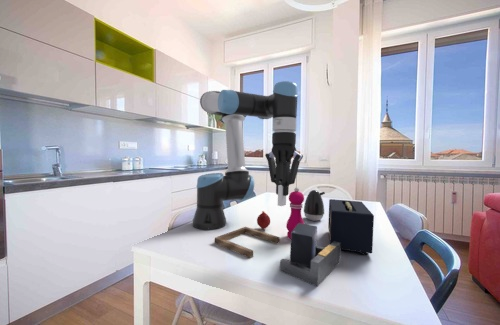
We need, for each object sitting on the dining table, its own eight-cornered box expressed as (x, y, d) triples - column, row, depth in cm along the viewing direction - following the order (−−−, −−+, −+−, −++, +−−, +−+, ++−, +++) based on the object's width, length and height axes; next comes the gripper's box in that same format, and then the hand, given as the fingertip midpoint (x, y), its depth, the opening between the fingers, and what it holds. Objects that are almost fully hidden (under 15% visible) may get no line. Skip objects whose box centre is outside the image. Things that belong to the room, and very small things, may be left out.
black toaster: (328, 231, 95) (329, 197, 95) (360, 235, 91) (362, 199, 91) (330, 252, 75) (331, 208, 74) (372, 258, 71) (374, 212, 70)
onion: (271, 228, 98) (271, 210, 97) (268, 232, 92) (268, 213, 92) (258, 226, 99) (259, 208, 99) (255, 230, 94) (255, 212, 94)
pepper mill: (304, 242, 83) (306, 189, 82) (285, 240, 84) (287, 188, 83) (304, 235, 90) (305, 186, 89) (286, 233, 91) (287, 185, 90)
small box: (311, 273, 61) (313, 236, 60) (288, 267, 64) (289, 232, 63) (316, 257, 71) (317, 225, 70) (296, 253, 73) (297, 222, 73)
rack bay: (279, 270, 62) (280, 249, 61) (306, 251, 75) (307, 233, 74) (317, 286, 55) (318, 262, 54) (339, 262, 68) (340, 242, 67)
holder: (214, 243, 80) (214, 237, 80) (245, 231, 93) (245, 226, 93) (250, 258, 69) (250, 252, 69) (279, 242, 82) (279, 237, 82)
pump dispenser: (327, 222, 107) (328, 192, 107) (306, 222, 107) (307, 191, 107) (320, 216, 117) (321, 188, 117) (301, 216, 117) (302, 188, 117)
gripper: (260, 132, 71) (258, 203, 72) (296, 130, 63) (294, 211, 64) (273, 134, 77) (271, 200, 78) (308, 132, 69) (305, 206, 70)
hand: (281, 205), depth 71 cm, fingers closed
